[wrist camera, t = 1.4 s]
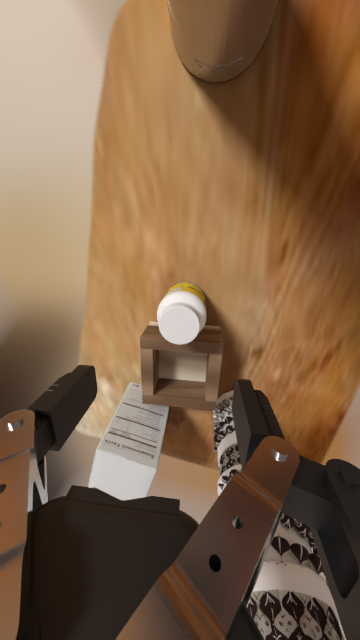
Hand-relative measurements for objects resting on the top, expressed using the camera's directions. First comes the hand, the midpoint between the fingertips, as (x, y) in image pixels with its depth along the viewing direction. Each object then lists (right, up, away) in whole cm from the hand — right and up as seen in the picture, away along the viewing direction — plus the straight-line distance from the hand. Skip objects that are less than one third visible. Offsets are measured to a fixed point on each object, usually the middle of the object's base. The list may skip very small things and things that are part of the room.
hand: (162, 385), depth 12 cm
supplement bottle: (+2, +6, +18) cm, 19 cm away
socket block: (+2, -2, +20) cm, 20 cm away
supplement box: (-5, -10, +24) cm, 27 cm away
